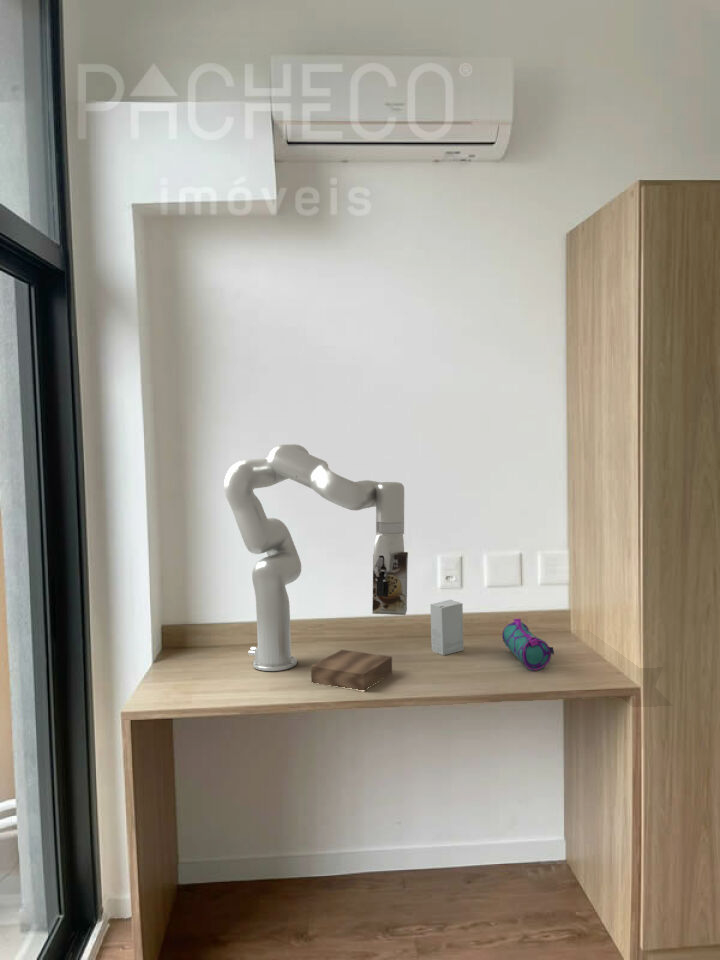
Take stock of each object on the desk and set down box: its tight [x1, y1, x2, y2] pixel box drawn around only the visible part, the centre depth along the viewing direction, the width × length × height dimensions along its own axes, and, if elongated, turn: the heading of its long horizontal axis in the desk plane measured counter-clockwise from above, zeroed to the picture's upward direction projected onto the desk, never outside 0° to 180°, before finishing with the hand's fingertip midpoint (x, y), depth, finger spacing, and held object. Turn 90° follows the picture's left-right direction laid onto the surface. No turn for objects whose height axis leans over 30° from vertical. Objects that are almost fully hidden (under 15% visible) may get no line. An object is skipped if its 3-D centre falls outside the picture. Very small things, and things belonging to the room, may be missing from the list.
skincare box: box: [430, 599, 464, 656], centre depth 213 cm, size 8×6×15 cm
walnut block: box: [310, 649, 393, 691], centre depth 191 cm, size 16×16×5 cm
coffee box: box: [371, 551, 409, 616], centre depth 189 cm, size 9×6×16 cm
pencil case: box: [502, 618, 555, 672], centre depth 203 cm, size 21×9×10 cm, turn 5°
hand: (389, 592), depth 190 cm, fingers closed on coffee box, 8 cm apart
